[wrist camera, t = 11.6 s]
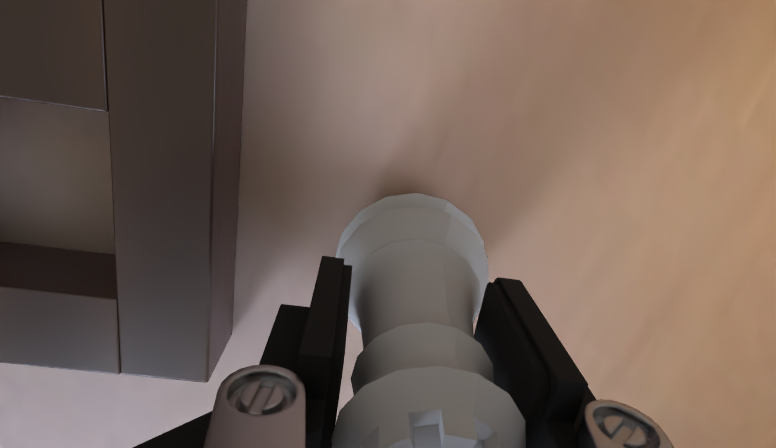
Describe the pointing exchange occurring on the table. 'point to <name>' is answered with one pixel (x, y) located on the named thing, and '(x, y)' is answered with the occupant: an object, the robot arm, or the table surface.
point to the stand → (133, 184)
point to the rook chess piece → (420, 332)
